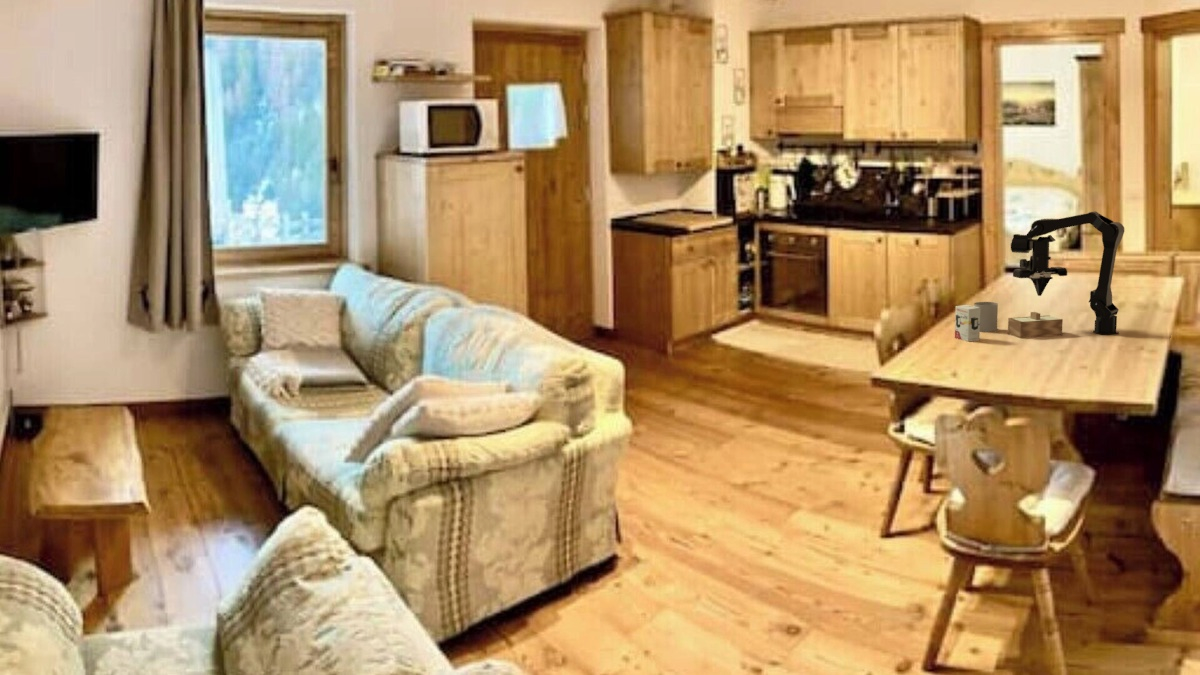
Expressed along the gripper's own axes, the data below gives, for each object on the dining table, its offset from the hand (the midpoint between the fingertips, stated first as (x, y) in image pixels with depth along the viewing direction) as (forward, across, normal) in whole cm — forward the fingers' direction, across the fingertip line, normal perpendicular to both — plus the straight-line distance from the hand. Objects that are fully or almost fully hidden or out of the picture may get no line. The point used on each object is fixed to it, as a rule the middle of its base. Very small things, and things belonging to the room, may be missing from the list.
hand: (1039, 295), depth 445 cm
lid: (+7, +8, +12) cm, 16 cm away
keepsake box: (+12, +8, +12) cm, 19 cm away
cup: (+12, +20, -2) cm, 24 cm away
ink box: (+12, +34, +12) cm, 38 cm away
